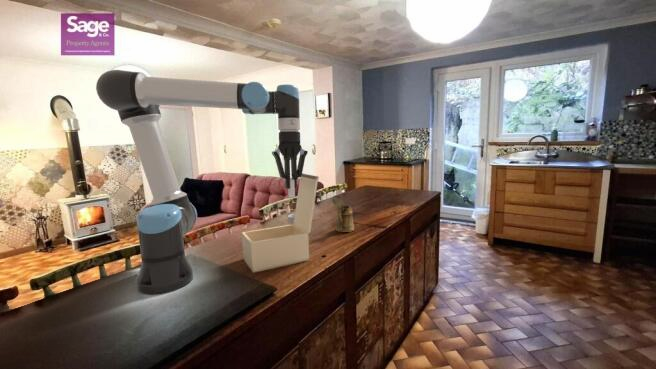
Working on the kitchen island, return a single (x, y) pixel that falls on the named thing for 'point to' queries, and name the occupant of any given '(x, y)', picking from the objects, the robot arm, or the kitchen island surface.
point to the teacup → (291, 219)
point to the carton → (275, 247)
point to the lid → (305, 201)
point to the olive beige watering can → (343, 215)
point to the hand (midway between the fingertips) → (291, 197)
